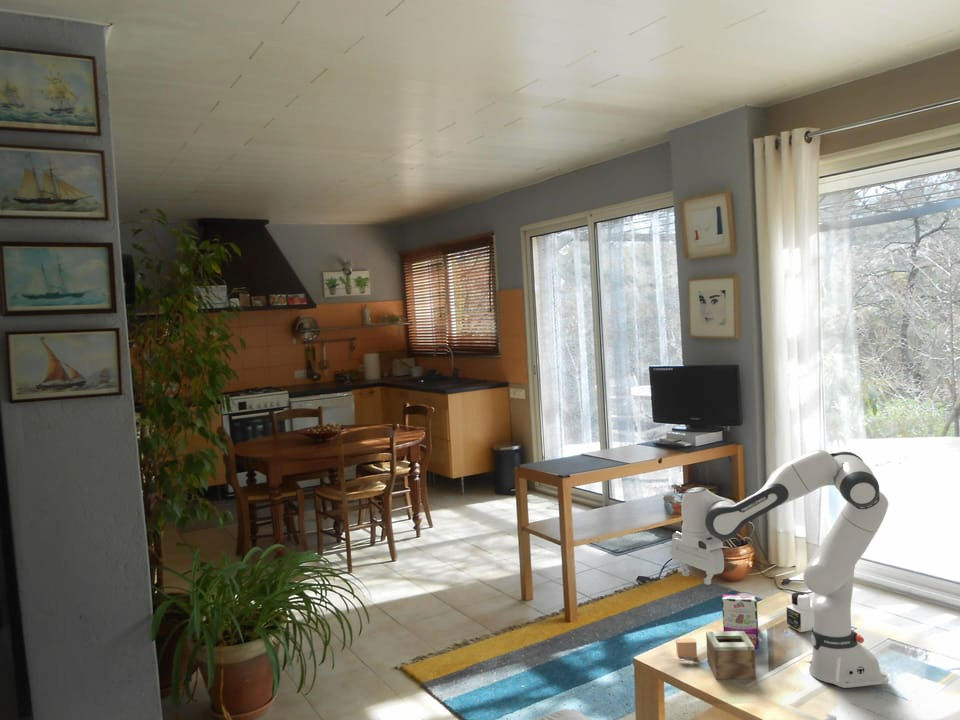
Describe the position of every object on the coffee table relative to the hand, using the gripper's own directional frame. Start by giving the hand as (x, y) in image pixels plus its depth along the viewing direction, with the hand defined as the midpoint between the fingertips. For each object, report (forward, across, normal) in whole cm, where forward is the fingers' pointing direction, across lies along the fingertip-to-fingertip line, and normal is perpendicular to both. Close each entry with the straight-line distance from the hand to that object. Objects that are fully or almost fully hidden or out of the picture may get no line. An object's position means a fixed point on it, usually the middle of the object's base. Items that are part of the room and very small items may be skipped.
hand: (696, 579), depth 241 cm
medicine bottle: (+26, +2, +49) cm, 56 cm away
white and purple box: (+27, -7, +32) cm, 42 cm away
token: (+27, -4, -1) cm, 28 cm away
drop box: (+27, +11, +4) cm, 29 cm away
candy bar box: (+27, 0, +21) cm, 34 cm away
